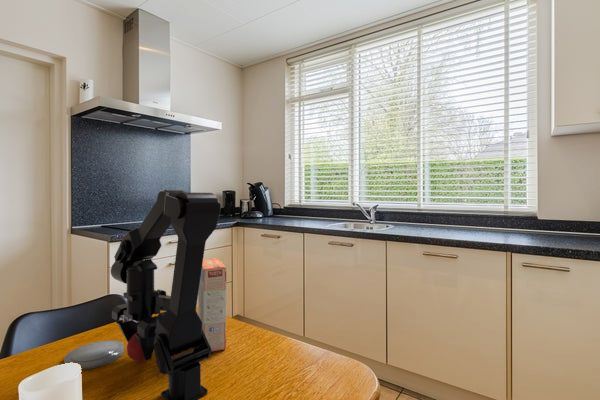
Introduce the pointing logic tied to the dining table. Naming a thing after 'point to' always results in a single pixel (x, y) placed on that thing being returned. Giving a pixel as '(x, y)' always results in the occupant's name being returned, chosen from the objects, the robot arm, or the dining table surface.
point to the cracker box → (213, 303)
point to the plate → (95, 354)
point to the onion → (134, 349)
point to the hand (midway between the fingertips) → (141, 354)
